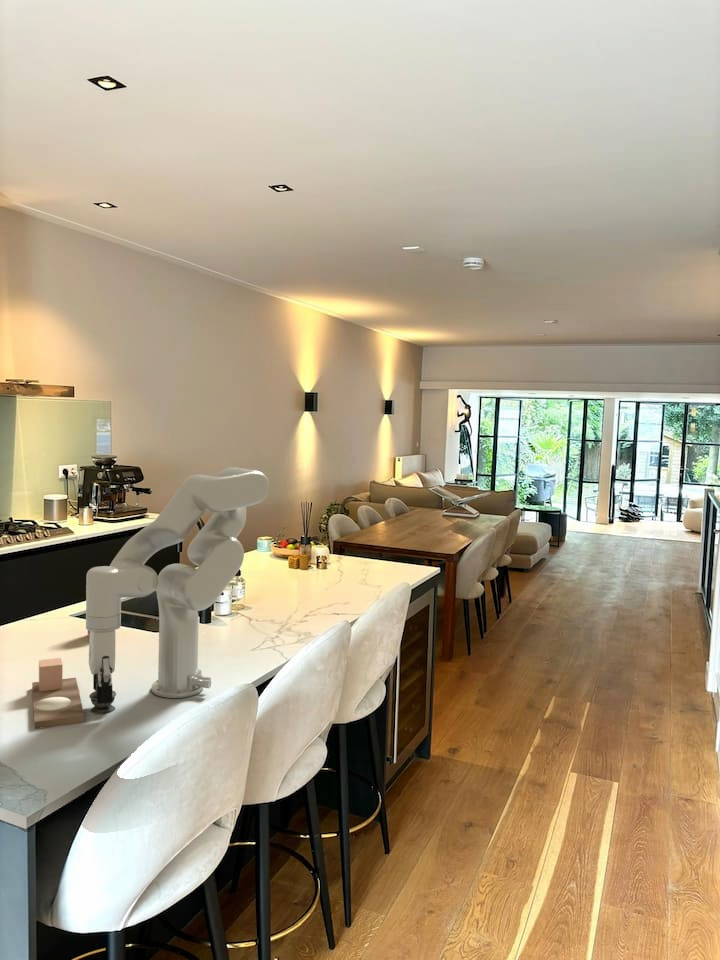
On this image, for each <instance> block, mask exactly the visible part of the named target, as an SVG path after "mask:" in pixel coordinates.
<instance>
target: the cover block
mask: <svg viewBox="0 0 720 960" xmlns="http://www.w3.org/2000/svg"><path fill="white" fill-rule="evenodd" d="M62 679H63V661H62V658H61V657H57V658H56V657H55V658H48V659H47V658H46V659H39V660H38V682H39V690H40V691H48V690H56V689H62Z"/></svg>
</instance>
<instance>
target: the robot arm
mask: <svg viewBox="0 0 720 960" xmlns="http://www.w3.org/2000/svg"><path fill="white" fill-rule="evenodd" d="M270 487H271V486H270V481H269V479H268V477H267V476H266V475H265V474H264V473H263V472H261V471H259V470H255V469H248V468H242V467H241V468H240V467H234V466H233V467H227V468H224V469H221V470H220V472H219V473H218V474H217V476H212V475H211V476H210V475H206V474H192V475H190V476H189V477H187V478H186V479H185V480H184V481H183V483H182V484H181V485H180V486H179V487H178V489H177V490H176V492H175V493H174V494H173V496H172V497H171V499H170V500H169V501H168V503H166V505H165V507H164V508H163V509H162V510H161V512H160V513H159V514H158V516H157V517H156V518H155V519H154V521H152V522H151V523H149V524H147V525H146V526H145V527H143V528H142V529H140V530H139V531H138V532H136V533H135V534H134V535H133V536H131V537H130V538H129V539H128V540H126V542H125V544H123V546H122V547H121V549H120V550H119V551H118V552H117V554H116V555H115V557H114V558H113V560H112V561H111V563H110V564H109V566H108V565H103V566H101V565H100V566H94V567H91V568H90V569H89V570H88V571H87V572H86V579H85V581H86V582H85V583H86V585H85V589H86V590H85V596H86V597H85V598H86V599H85V630H87V631H88V630H89V631H90V636H89V640H88V641H89V645H88V647H89V648H88V667H89V669H90V670H89V671H90V672H91V675H92V676H93V680H92V681H93V684H92V685H93V687H92V688H93V690H94V691H95V690H96V681H95V678H96V677H97V674H98V684H99V686H97V703H98V704H100V703H108V702H112V691H113V680H112V678H113V677H112V674H113V673H114V672H115V670H116V669H115V667H116V630H119V629H120V628H121V627H122V626H121V625H122V623H121V622H122V621H121V619H122V599H124V598H138V599H139V598H145V597H147V596H150V595H151V594H153V593H154V591H156V599H157V603H158V604H157V605H158V616H159V617H158V621H159V622H158V624H159V625H158V626H159V627H158V673H157V675H158V677H157V680H155V681H154V682H153V683H152V684H151V692H152V693H153V694H154V695H156V696H158V697H161V698H166V699H167V698H168V699H181V698H187V697H188V698H189V697H192V696H195V695H197V694H199V693H201V692H202V691H203V689H210V688H211V687H212V678H211V677H209V676H203V675H202V669H198V668H199V667H198V665H199V661H198V660H199V659H198V658H199V655H198V654H199V627H200V626H199V624H200V621H199V620H200V618H199V612H200V611H201V612H202V611H204V610H207V609H208V608H210V607H211V606H212V605H213V604H215V602H216V601H217V600H218V599H219V597H220V596H221V595H222V593H223V592H224V591H225V589H226V588H227V587H228V586H229V584H230V583H231V581H232V580H233V579H234V577H235V576H236V575H237V573H238V572H239V571H240V569H241V568H242V565H243V561H244V559H245V550H244V547H243V545H242V542H240V541H239V540H238V537H239V535H240V534H241V533H242V531H243V529H244V528H245V525H246V521H247V507H251V506H254V505H257V504H259V503H262V502H263V501H264V500H265V499H266V498H267V497H268V495H269V493H270ZM206 511H208V512H212V513H213V514H212V515H211V516H210V518H209V519H208V521H207V522H206V523H205V524H204V526H203V527H201V529H200V530H199V531H198V533H197V534H196V535H195V536H194V537H193V539H192V540H191V541H190V543H189V544H188V548H187V557H188V560H189V561H190V562H191V563H193V565H195V566H196V567H197V568H196V567H193V566H191V565H187V564H184V563H172V564H168V565H166V566H165V567H164V568H163V569H161V571H160V572H159V574H157V572H156V570H154V569H153V568H152V567H150V566H148V565H145V564H146V563H147V562H148V560H149V559H150V558H151V557H152V556H153V555H154V554H156V553H157V552H159V551H161V550H162V549H166V548H167V547H171V546H174V545H177V544H179V543H181V542H184V541H185V540H186V539H187V538H188V537H189V535H190V533H191V532H192V531H193V529H194V528H195V526H196V525H197V523H198V522H199V521H200V519H201V518H202V516H203V515H204V514H205V512H206ZM100 670H103V672H100ZM102 675H103V677H102V679H101V676H102Z"/></svg>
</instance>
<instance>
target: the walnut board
mask: <svg viewBox="0 0 720 960" xmlns="http://www.w3.org/2000/svg"><path fill="white" fill-rule="evenodd" d="M31 684H32V685H31V687H32V688H31V690H32V706H33V721H34V730H35V729H36V730H37V729H42V728H43V729H44V728H51V727H58V726H64V725H73V724H79V722H80V723H85V713H84V708H83V704H82V699H81V695H80V689H79V685H78V681H77V678H76V677H70V678H62V689H56V690H48V691H40V690H39V681H36V682H35V681H33V682H31Z"/></svg>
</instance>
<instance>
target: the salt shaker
mask: <svg viewBox="0 0 720 960" xmlns="http://www.w3.org/2000/svg"><path fill="white" fill-rule="evenodd" d="M100 672H103V670H100ZM102 677H103V675H102V676H101V679H102ZM95 681H96V690H94V691H93V692H91V693H90V694H89V699H90V702H91V704H92V705H93V707H91V709H90V712H91V713H92V714H93V713H94V715H105V714H106V713H107V714H111V713H112V712H114V711H115V708H116V707H115V706H114V705H112V704H113V703H114V701H115V698H116V696H117V692H116V691H114V690H112V702H108V703H100V704H98V703H97V686H99V684H98V674H97V677H96V678H95Z"/></svg>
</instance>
